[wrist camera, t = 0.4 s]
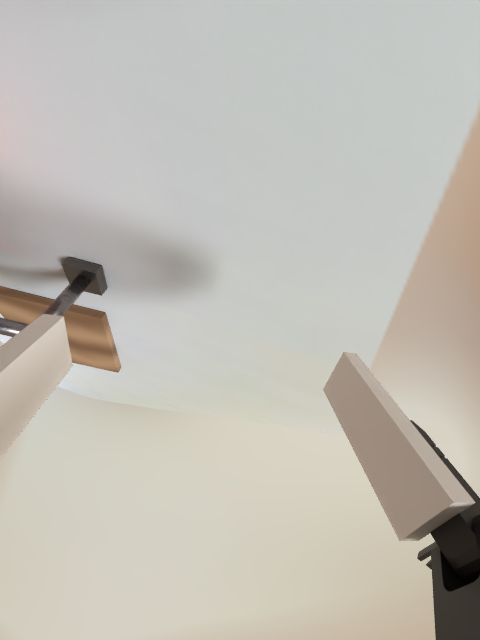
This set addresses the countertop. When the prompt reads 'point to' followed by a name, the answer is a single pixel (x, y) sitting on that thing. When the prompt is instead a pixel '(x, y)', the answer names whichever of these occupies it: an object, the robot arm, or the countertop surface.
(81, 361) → the walnut board
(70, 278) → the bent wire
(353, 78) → the countertop surface
